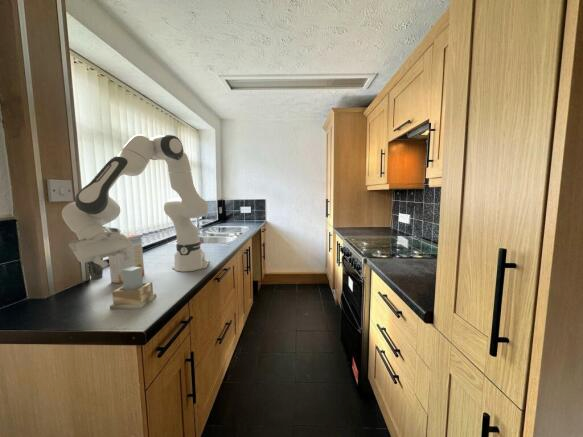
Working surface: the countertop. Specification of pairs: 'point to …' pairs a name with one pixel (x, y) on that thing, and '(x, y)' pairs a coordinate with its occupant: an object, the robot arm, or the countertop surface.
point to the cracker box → (135, 260)
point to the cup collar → (132, 297)
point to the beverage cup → (95, 270)
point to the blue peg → (132, 278)
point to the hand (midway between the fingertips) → (117, 262)
